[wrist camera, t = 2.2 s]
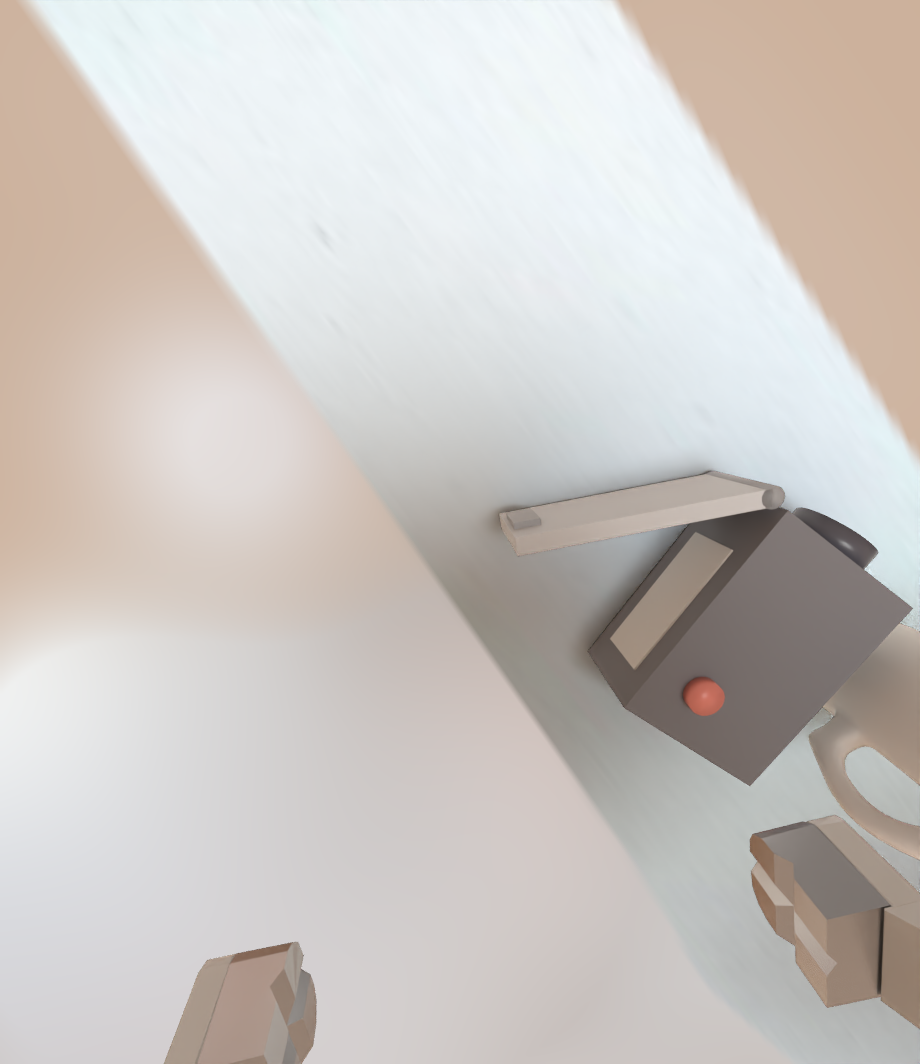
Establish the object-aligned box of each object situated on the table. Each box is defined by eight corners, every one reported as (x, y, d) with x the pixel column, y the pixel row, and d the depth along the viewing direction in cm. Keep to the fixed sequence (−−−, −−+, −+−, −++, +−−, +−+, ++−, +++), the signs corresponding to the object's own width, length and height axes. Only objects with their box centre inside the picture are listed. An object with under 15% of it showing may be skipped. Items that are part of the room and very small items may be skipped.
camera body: (839, 550, 28) (947, 590, 22) (693, 719, 30) (757, 795, 24) (732, 467, 26) (818, 485, 21) (586, 650, 28) (627, 714, 23)
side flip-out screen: (721, 488, 26) (785, 507, 22) (501, 530, 26) (518, 558, 21) (720, 465, 26) (784, 479, 21) (497, 507, 26) (514, 531, 21)
